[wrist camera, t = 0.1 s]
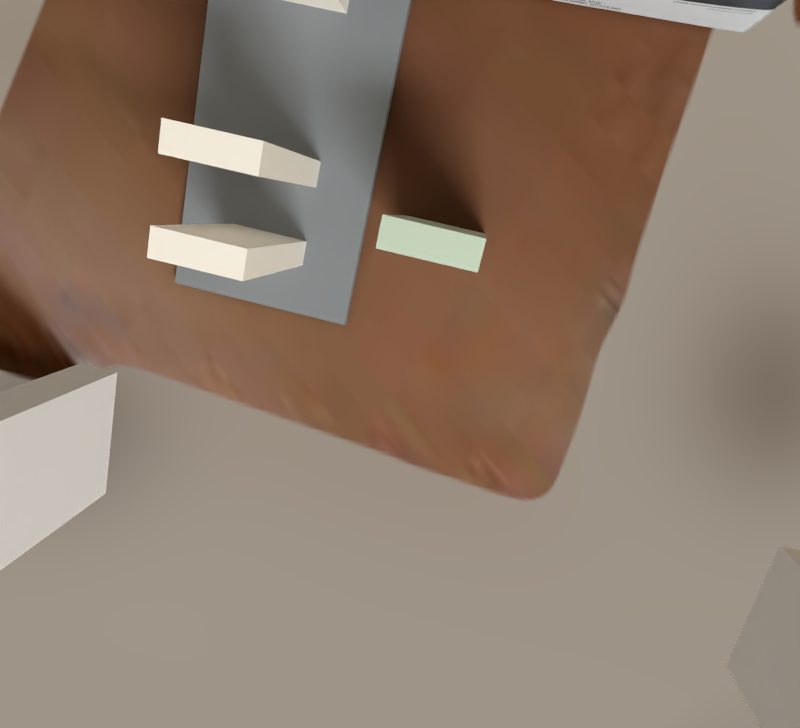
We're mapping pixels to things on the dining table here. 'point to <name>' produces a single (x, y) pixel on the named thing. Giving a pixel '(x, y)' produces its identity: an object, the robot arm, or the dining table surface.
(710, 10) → the tea box
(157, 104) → the dining table surface
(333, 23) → the slate mat
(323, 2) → the domino
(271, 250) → the domino
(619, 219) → the dining table surface
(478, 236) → the sage domino
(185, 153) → the domino
